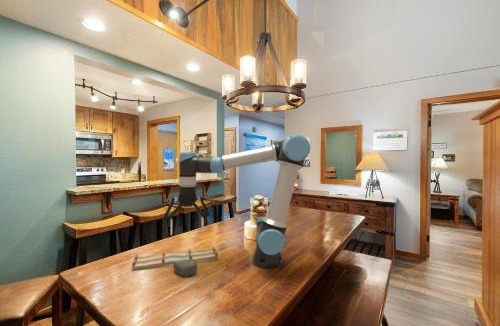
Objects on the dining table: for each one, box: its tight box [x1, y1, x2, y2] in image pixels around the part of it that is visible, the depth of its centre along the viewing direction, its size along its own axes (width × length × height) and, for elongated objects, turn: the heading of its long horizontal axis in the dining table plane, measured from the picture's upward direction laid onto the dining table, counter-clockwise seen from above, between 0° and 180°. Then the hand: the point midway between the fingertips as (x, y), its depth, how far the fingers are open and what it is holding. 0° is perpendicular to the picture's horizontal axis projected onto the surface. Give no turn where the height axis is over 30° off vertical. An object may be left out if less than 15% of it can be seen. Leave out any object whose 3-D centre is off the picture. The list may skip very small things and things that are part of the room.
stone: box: [173, 259, 198, 278], centre depth 107 cm, size 9×9×10 cm
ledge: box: [131, 246, 219, 272], centre depth 121 cm, size 11×40×4 cm, turn 108°
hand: (187, 232), depth 107 cm, fingers open, 13 cm apart
